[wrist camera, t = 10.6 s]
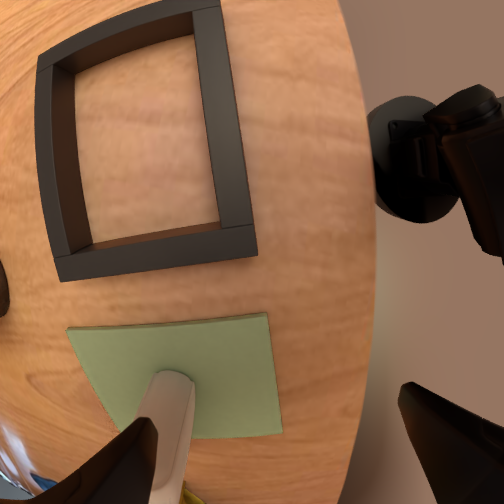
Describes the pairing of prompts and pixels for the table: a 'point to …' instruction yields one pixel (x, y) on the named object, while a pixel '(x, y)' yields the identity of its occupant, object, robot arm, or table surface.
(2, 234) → the table surface
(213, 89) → the dark rectangular frame
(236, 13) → the table surface
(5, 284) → the pillar candle
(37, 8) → the table surface
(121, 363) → the mat
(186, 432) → the cream rounded block
